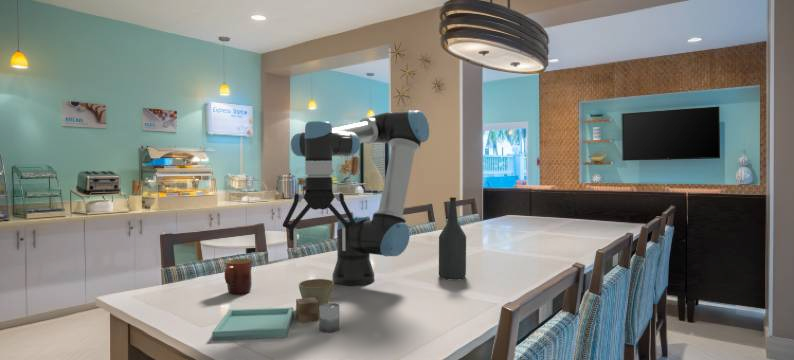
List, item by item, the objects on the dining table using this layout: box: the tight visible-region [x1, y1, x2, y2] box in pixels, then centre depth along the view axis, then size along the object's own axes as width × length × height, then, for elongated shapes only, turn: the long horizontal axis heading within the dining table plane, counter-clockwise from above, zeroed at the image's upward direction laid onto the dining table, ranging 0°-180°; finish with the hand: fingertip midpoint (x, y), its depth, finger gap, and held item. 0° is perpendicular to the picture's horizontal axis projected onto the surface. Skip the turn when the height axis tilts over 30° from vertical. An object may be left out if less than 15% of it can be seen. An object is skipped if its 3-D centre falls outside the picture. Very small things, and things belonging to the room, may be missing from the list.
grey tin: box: [318, 302, 340, 334], centre depth 114 cm, size 5×5×6 cm
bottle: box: [438, 196, 467, 280], centre depth 170 cm, size 10×10×30 cm
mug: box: [224, 257, 254, 296], centre depth 146 cm, size 12×9×10 cm
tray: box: [211, 306, 294, 341], centre depth 116 cm, size 17×17×2 cm
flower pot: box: [298, 278, 334, 311], centre depth 132 cm, size 10×10×7 cm
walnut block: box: [295, 297, 319, 324], centre depth 122 cm, size 5×5×5 cm
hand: (319, 251), depth 129 cm, fingers open, 13 cm apart
